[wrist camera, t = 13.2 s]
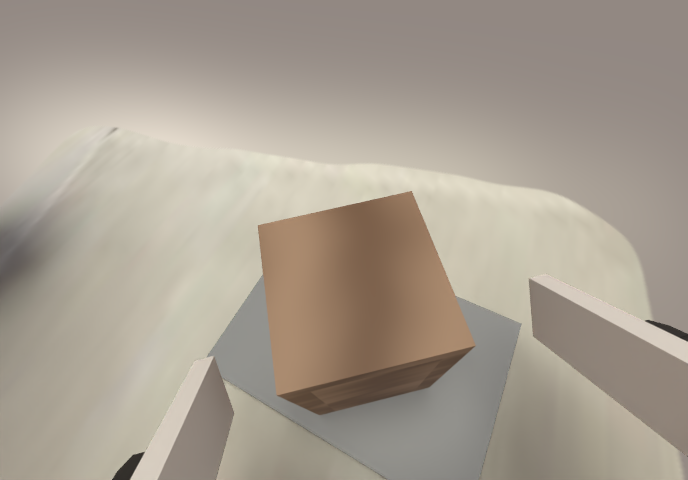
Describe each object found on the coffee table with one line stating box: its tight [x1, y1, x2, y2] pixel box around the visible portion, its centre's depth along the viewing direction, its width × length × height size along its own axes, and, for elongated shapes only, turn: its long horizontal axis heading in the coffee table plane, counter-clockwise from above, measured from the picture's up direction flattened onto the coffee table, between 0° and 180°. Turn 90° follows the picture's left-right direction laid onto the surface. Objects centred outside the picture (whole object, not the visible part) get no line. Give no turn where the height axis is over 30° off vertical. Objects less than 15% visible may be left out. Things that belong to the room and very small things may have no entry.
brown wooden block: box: [258, 191, 476, 415], centre depth 18 cm, size 7×7×11 cm
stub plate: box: [206, 275, 521, 480], centre depth 21 cm, size 18×12×8 cm, turn 63°
